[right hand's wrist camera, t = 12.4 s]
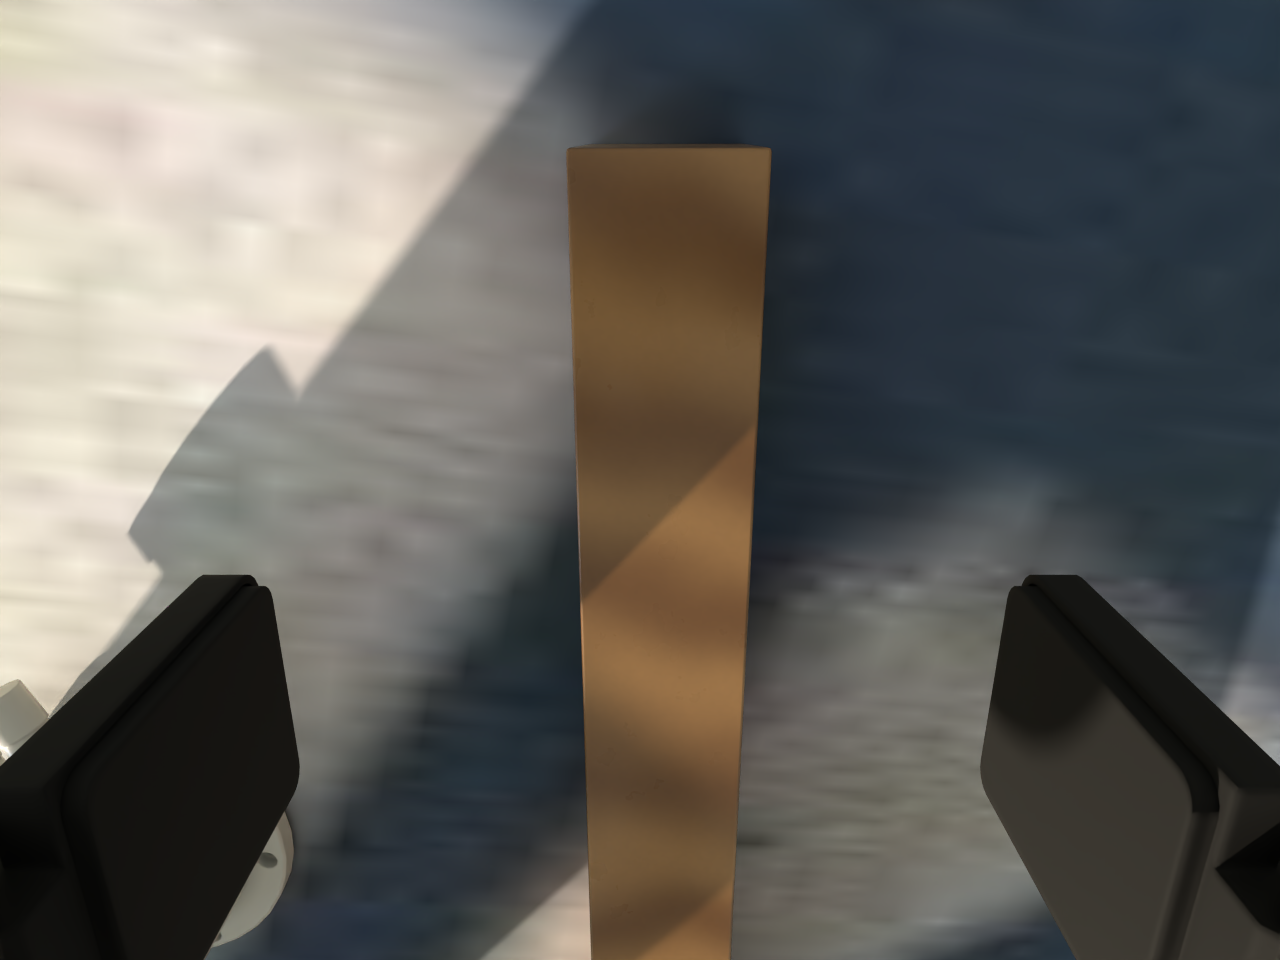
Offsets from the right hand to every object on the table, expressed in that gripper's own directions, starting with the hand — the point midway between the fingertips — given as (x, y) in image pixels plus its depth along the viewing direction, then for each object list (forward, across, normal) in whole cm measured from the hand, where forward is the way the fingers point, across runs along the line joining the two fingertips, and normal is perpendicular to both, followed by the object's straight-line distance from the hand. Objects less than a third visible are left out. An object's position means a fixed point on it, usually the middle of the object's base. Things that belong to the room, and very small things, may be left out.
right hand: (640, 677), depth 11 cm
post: (+21, +1, -24) cm, 32 cm away
